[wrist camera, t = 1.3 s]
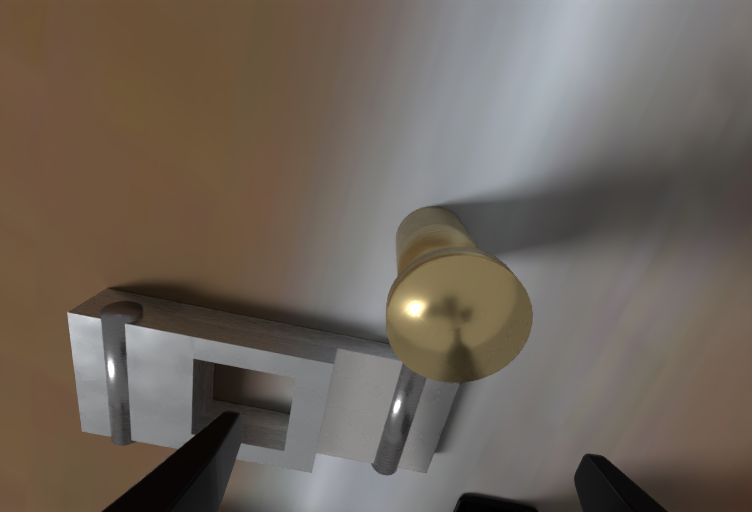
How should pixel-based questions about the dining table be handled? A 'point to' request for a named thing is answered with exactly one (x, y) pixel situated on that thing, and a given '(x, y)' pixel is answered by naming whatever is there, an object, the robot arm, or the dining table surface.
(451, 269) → the brass knob
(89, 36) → the dining table surface
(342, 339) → the silver plate
